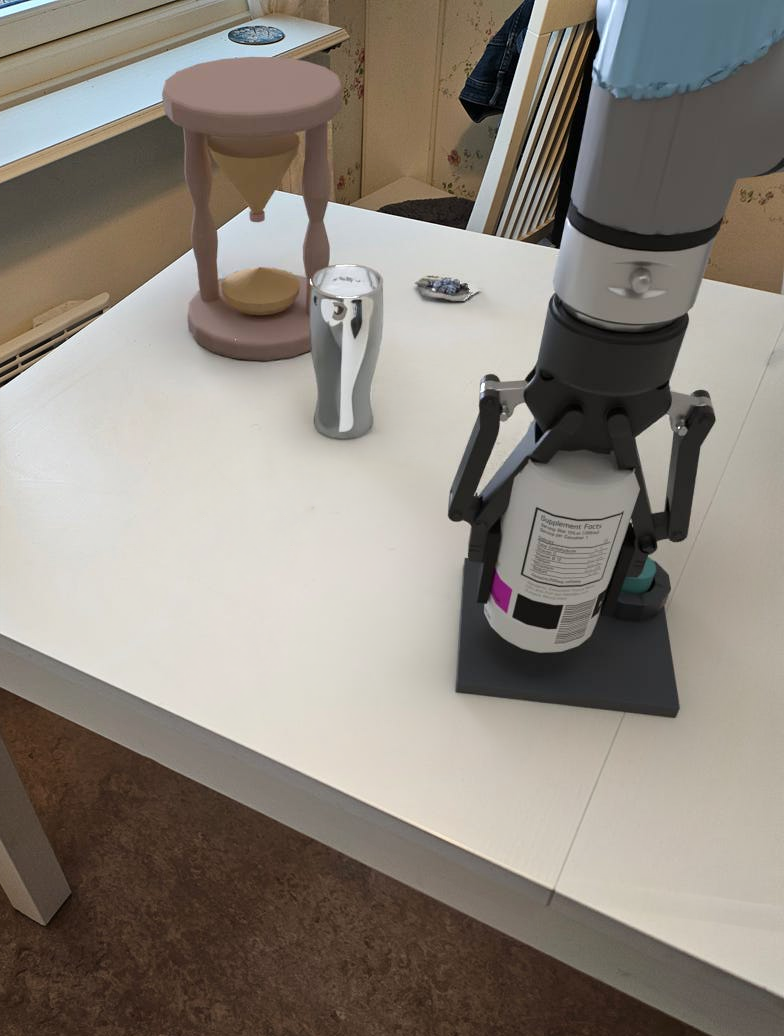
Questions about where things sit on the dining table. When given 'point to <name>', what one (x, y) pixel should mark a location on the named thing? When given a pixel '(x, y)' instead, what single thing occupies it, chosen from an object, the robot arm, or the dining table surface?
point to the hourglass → (254, 191)
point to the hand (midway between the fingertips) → (543, 596)
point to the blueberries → (443, 288)
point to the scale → (576, 657)
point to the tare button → (640, 579)
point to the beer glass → (345, 346)
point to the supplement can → (559, 549)
